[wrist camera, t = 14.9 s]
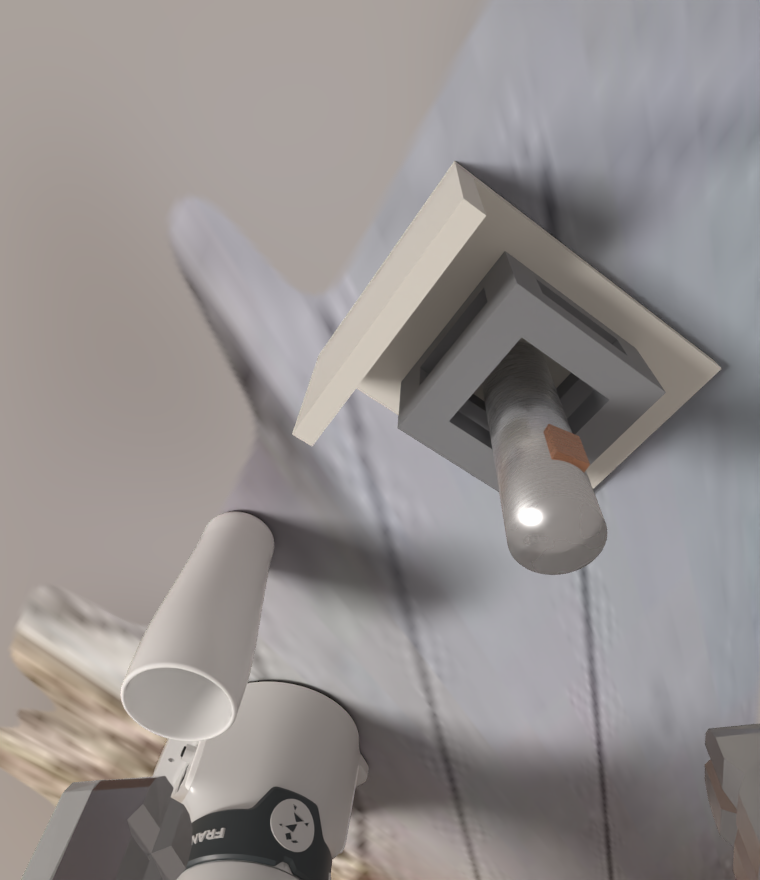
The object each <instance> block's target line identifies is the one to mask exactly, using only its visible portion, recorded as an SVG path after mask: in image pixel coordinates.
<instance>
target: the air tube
mask: <svg viewBox="0 0 760 880" xmlns="http://www.w3.org/2000/svg"><path fill="white" fill-rule="evenodd" d="M482 388H483V394H484V400H485V407H486V413H487V419H488V425H489V431H490V438H491V444H492V450H493V456H494V463H495V469H496V475H497V481H498V487H499V494H500V500H501V506H502V512H503V518H504V525H505V531H506V537H507V543H508V548H509V551H510V553H511V555H512V556H513V558H514V559H515V560H516V561H517V562H518V563H519V564H520V565H522V566H523V567H525V568H527V569H529V570H531V571H533V572H537V573H541V574H548V575H558V574H566V573H570V572H573V571H576V570H579V569H581V568H583V567H585V566H586V565H588V564H589V563H591V562H592V561H593V560H594V559H595V558H596V557H597V556H598V555H599V554H600V553H601V551H602V550H603V548H604V546H605V543H606V540H607V527H606V523H605V520H604V518H603V515H602V512H601V510H600V507H599V504H598V501H597V499H596V496H595V493H594V491H593V488H592V485H591V482H590V480H589V477H588V474H587V472H586V470H587V468H588V467H589V465H590V463H589V460H588V458H587V455H586V452H585V450H584V447H583V445H582V442H581V439H580V437H579V436H577V435H575V434H573V433H572V431H571V428H570V426H569V423H568V420H567V418H566V415H565V412H564V409H563V407H562V404H561V401H560V399H559V396H558V393H557V390H556V388H555V385H554V382H553V380H552V377H551V374H550V372H549V369H548V366H547V363H546V361H545V358H544V356H543V355H542V353H541V352H540V351H539V350H538V349H537V348H536V347H534V346H533V345H531V344H529V343H526V342H521V341H518V342H517V343H516V344H515V346H514V347H513V348H512V349H511V350H510V351H509V353H508V354H507V355H506V356H505V357H504V358H503V359H502V361H501V362H500V363H499V364H498V365H497V366H496V368H495V369H494V370H493V371H492V372H491V373H490V375H489V376H488V377H487V378H486V379H485V380H484V381H483V383H482Z"/></svg>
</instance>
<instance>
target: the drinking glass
mask: <svg viewBox="0 0 760 880" xmlns="http://www.w3.org/2000/svg"><path fill="white" fill-rule="evenodd" d="M273 552H274V538H273V535H272V533H271V531H270V529H269V528H268V526H267V525H266V524H265V523H264V522H263V521H261V520H260V519H259V518H257V517H255V516H253V515H251V514H248V513H244V512H226V513H223V514H220V515H218V516H216V517H214V518H213V519H212V520H211V521H210V522H209V523H208V524H207V526H206V527H205V529H204V531H203V533H202V536H201V538H200V540H199V542H198V544H197V546H196V547H195V549H194V551H193V552H192V554H191V556H190V557H189V559H188V561H187V562H186V564H185V566H184V567H183V569H182V571H181V572H180V574H179V576H178V577H177V579H176V581H175V582H174V584H173V586H172V587H171V589H170V591H169V592H168V594H167V596H166V597H165V599H164V600H163V602H162V604H161V605H160V607H159V609H158V610H157V612H156V614H155V616H154V617H153V619H152V621H151V622H150V624H149V626H148V628H147V629H146V631H145V633H144V635H143V637H142V639H141V641H140V643H139V645H138V648H137V650H136V652H135V654H134V657H133V659H132V661H131V664H130V666H129V668H128V671H127V673H126V676H125V679H124V681H123V683H122V686H121V692H120V694H121V701H122V704H123V706H124V708H125V710H126V712H127V713H128V714H129V716H130V717H131V718H132V719H133V720H134V721H135V722H136V723H138V724H139V725H140V726H142V727H143V728H145V729H146V730H148V731H150V732H152V733H154V734H157V735H159V736H162V737H165V738H168V739H173V740H178V741H190V742H192V741H203V740H208V739H212V738H215V737H217V736H219V735H221V734H223V733H224V732H226V731H227V730H228V729H229V728H230V727H231V726H232V725H233V723H234V721H235V719H236V717H237V713H238V710H239V708H240V705H241V702H242V699H243V696H244V693H245V689H246V686H247V683H248V679H249V675H250V671H251V667H252V663H253V659H254V654H255V648H256V643H257V637H258V631H259V625H260V619H261V612H262V606H263V601H264V595H265V589H266V583H267V578H268V572H269V567H270V563H271V559H272V556H273Z"/></svg>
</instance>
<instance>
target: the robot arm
mask: <svg viewBox="0 0 760 880" xmlns="http://www.w3.org/2000/svg"><path fill="white" fill-rule="evenodd" d="M705 746H706V748H707V751H708V754H709V756H710V760H709V761H708V762H707V763H706V764H705V784H706V790H707V795H708V801H709V804H710V807H711V811H712V814H713V817H714V820H715V823H716V826H717V829H718V831H719V834H720V836H721V837H722V838H723V839H724V840H725V841H726V842H728V843H729V844H730V845H731V846H732V847H733V848H734V858H733V872H734V875H735V878H736V880H760V724H751V725H741V726H731V727H721V728H711V729H708V730H707V732H706V736H705ZM368 772H369V767H368V765H367V763H366V761H365V759H364V758H363V756H362V755H361V754H360V751H359V734H358V730H357V727H356V725H355V723H354V721H353V719H352V718H351V717H350V715H349V714H348V713H347V712H346V711H345V710H344V709H343V708H342V707H341V706H340V705H339V704H337V703H336V702H335V701H333V700H332V699H330V698H328V697H327V696H325V695H323V694H321V693H319V692H316V691H314V690H311V689H309V688H306V687H302V686H299V685H294V684H289V683H283V682H253V683H247V686H246V689H245V693H244V696H243V699H242V702H241V705H240V708H239V710H238V713H237V717H236V719H235V721H234V723H233V725H232V726H231V727H230V728H229V729H228V730H227V731H226V732H224V733H223V734H221V735H219V736H217V737H215V738H212V739H208V740H203V741H192V742H190V741H178V740H173V739H167V742H166V744H165V746H164V749H163V751H162V753H161V756H160V758H159V760H158V763H157V765H156V767H155V770H154V774H153V777H142V778H128V779H115V780H96V781H85V782H74V783H72V784H71V785H70V786H69V787H68V788H67V789H66V790H65V791H64V792H63V794H62V796H61V798H60V800H59V802H58V804H57V806H56V808H55V810H54V812H53V814H52V817H51V819H50V820H49V822H48V825H47V827H46V829H45V831H44V833H43V835H42V837H41V839H40V841H39V843H38V845H37V847H36V850H35V852H34V853H33V856H32V858H31V860H30V862H29V864H28V866H27V868H26V870H25V872H24V874H23V877H22V878H21V880H331V867H332V859H333V858H335V857H336V856H337V855H338V854H339V853H342V851H343V849H344V847H345V844H346V839H347V833H348V828H349V822H350V817H351V811H352V805H353V799H354V794H355V788H356V787H358V786H359V785H361V784H363V783H364V782H366V780H367V777H368Z"/></svg>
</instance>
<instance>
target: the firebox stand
mask: <svg viewBox="0 0 760 880" xmlns="http://www.w3.org/2000/svg"><path fill="white" fill-rule="evenodd" d="M518 341H521V342H526V343H529V344H531V345H533V346H534V347H536V348H537V349H538V350H539V351H540V352H541V353H542V355H543V356H544V358H545V361H546V363H547V366H548V369H549V372H550V374H551V377H552V380H553V382H554V385H555V388H556V390H557V393H558V396H559V399H560V401H561V404H562V407H563V409H564V412H565V415H566V418H567V420H568V423H569V426H570V428H571V431H572V433H573V434H575V435H577V436H579V437H580V439H581V442H582V445H583V447H584V450H585V452H586V455H587V458H588V460H589V463H590V465H589V467H588V468H587V470H586V472H587V474H588V477H589V480H590V482H591V485H592V488H593V489H594V488H595V487H596V486H597V485H598V484H599V483H600V482H601V481H602V480H603V479H604V478H606V477H607V476H608V475H609V474H610V473H611V472H612V471H613V470H614V469H615V468H616V467H617V466H618V465H619V464H620V463H622V462H623V461H624V460H625V459H626V458H627V457H628V456H629V455H630V454H631V453H632V452H633V451H634V450H635V449H637V448H638V447H639V446H640V445H641V444H642V443H643V442H644V441H645V440H646V439H647V438H648V437H649V436H650V435H651V434H653V433H654V432H655V431H656V430H657V429H658V428H659V427H660V426H661V425H662V424H663V423H664V422H665V421H666V420H668V419H669V418H670V417H671V416H672V415H673V414H674V413H675V412H676V411H677V410H678V409H679V408H680V407H681V406H682V405H684V404H685V403H686V402H687V401H688V400H689V399H690V398H691V397H692V396H693V395H694V394H695V393H696V392H697V391H698V390H700V389H701V388H702V387H703V386H704V385H705V384H706V383H707V382H708V381H709V380H710V379H711V378H712V377H713V376H715V375H716V374H717V373H718V372H719V371H720V370H721V367H720V366H719V365H718V364H717V363H716V362H715V361H714V360H713V359H712V358H710V357H709V356H708V355H706V354H705V353H704V352H703V351H701V350H700V349H699V348H697V347H696V346H695V345H693V344H692V343H691V342H690V341H688V340H687V339H686V338H684V337H683V336H682V335H680V334H679V333H678V332H677V331H675V330H674V329H673V328H671V327H670V326H669V325H667V324H666V323H665V322H664V321H662V320H661V319H660V318H658V317H657V316H656V315H654V314H653V313H652V312H651V311H649V310H648V309H647V308H645V307H644V306H643V305H641V304H640V303H639V302H638V301H636V300H635V299H634V298H632V297H631V296H630V295H628V294H627V293H626V292H625V291H623V290H622V289H621V288H619V287H618V286H617V285H615V284H614V283H613V282H612V281H610V280H609V279H608V278H606V277H605V276H604V275H602V274H601V273H600V272H599V271H597V270H596V269H595V268H593V267H592V266H591V265H589V264H588V263H587V262H586V261H584V260H583V259H582V258H580V257H579V256H578V255H576V254H575V253H574V252H573V251H571V250H570V249H569V248H567V247H566V246H565V245H563V244H562V243H561V242H560V241H558V240H557V239H556V238H554V237H553V236H552V235H550V234H549V233H548V232H547V231H545V230H544V229H543V228H541V227H540V226H539V225H537V224H536V223H535V222H534V221H532V220H531V219H530V218H528V217H527V216H526V215H524V214H523V213H522V212H521V211H519V210H518V209H517V208H515V207H514V206H513V205H511V204H510V203H509V202H508V201H506V200H505V199H504V198H502V197H501V196H500V195H498V194H497V193H496V192H495V191H493V190H492V189H491V188H489V187H488V186H487V185H485V184H484V183H483V182H482V181H480V180H479V179H478V178H476V177H475V176H474V175H472V174H471V173H470V172H469V171H467V170H466V169H465V168H463V167H462V166H461V165H459V164H458V163H457V162H456V161H454V162H453V164H452V165H451V167H450V168H449V169H448V171H447V172H446V174H445V175H444V177H443V178H442V179H441V181H440V182H439V184H438V185H437V187H436V188H435V189H434V191H433V192H432V194H431V195H430V197H429V198H428V200H427V201H426V202H425V204H424V205H423V207H422V208H421V210H420V211H419V212H418V214H417V215H416V217H415V218H414V220H413V221H412V222H411V224H410V225H409V227H408V228H407V230H406V231H405V232H404V234H403V235H402V237H401V238H400V240H399V241H398V242H397V244H396V245H395V247H394V248H393V250H392V251H391V252H390V254H389V255H388V257H387V258H386V260H385V261H384V262H383V264H382V265H381V267H380V268H379V270H378V271H377V272H376V274H375V275H374V277H373V278H372V280H371V281H370V282H369V284H368V285H367V287H366V288H365V290H364V291H363V292H362V294H361V295H360V297H359V298H358V300H357V301H356V302H355V304H354V305H353V307H352V308H351V310H350V311H349V312H348V314H347V315H346V317H345V318H344V320H343V321H342V322H341V324H340V325H339V327H338V328H337V330H336V331H335V332H334V334H333V335H332V337H331V338H330V340H329V341H328V342H327V344H326V345H325V347H324V348H323V350H322V351H321V352H320V354H319V356H318V359H317V362H316V365H315V368H314V371H313V374H312V377H311V380H310V383H309V385H308V388H307V391H306V394H305V397H304V400H303V403H302V406H301V409H300V412H299V415H298V418H297V421H296V424H295V427H294V430H293V433H292V435H294V436H296V437H297V438H299V439H301V440H302V441H304V442H306V443H307V444H309V445H311V446H313V445H314V443H315V442H316V441H317V439H318V438H319V437H320V435H321V434H322V433H323V431H324V430H325V429H326V427H327V426H328V425H329V423H330V422H331V421H332V419H333V418H334V417H335V416H336V414H337V413H338V412H339V410H340V409H341V408H342V406H343V405H344V404H345V402H346V401H347V400H348V398H349V397H350V396H351V394H352V393H353V392H354V390H355V389H356V388H357V389H358V390H360V391H361V392H363V393H364V394H366V395H368V396H369V397H371V398H372V399H374V400H375V401H377V402H379V403H380V404H382V405H383V406H385V407H386V408H388V409H390V410H391V411H393V412H394V413H396V414H397V415H399V416H398V429H400V430H401V431H403V432H404V433H406V434H408V435H409V436H411V437H412V438H414V439H416V440H417V441H419V442H420V443H422V444H423V445H425V446H427V447H428V448H430V449H431V450H433V451H435V452H436V453H438V454H439V455H441V456H443V457H444V458H446V459H447V460H449V461H450V462H452V463H454V464H455V465H457V466H458V467H460V468H462V469H463V470H465V471H466V472H468V473H470V474H471V475H473V476H474V477H476V478H477V479H479V480H481V481H482V482H484V483H485V484H487V485H489V486H490V487H492V488H493V489H495V490H496V491H498V492H499V487H498V481H497V475H496V469H495V463H494V456H493V450H492V444H491V438H490V431H489V425H488V419H487V413H486V407H485V400H484V394H483V388H482V383H483V381H484V380H485V379H486V378H487V377H488V376H489V375H490V373H491V372H492V371H493V370H494V369H495V368H496V366H497V365H498V364H499V363H500V362H501V361H502V359H503V358H504V357H505V356H506V355H507V354H508V353H509V351H510V350H511V349H512V348H513V347H514V346H515V344H516V343H517V342H518Z"/></svg>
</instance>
